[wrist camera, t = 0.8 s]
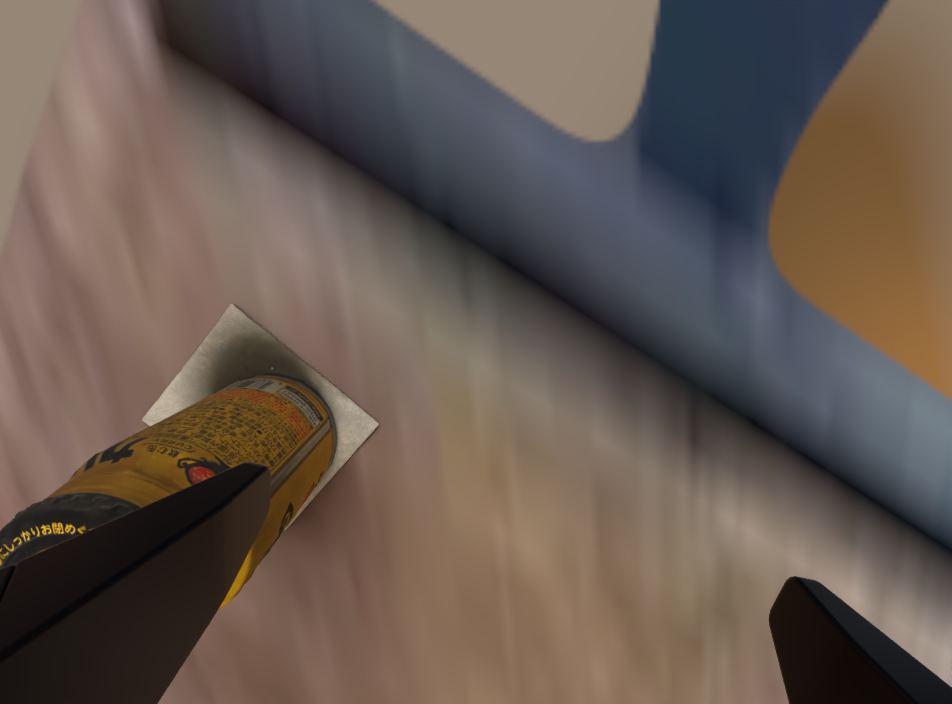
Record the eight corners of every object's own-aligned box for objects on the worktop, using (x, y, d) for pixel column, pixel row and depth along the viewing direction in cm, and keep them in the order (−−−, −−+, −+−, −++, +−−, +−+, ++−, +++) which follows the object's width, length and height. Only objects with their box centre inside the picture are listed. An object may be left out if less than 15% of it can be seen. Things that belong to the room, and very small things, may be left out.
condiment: (286, 529, 25) (110, 771, 13) (144, 418, 24) (-180, 574, 13) (380, 422, 24) (278, 584, 12) (234, 302, 23) (-27, 353, 11)
